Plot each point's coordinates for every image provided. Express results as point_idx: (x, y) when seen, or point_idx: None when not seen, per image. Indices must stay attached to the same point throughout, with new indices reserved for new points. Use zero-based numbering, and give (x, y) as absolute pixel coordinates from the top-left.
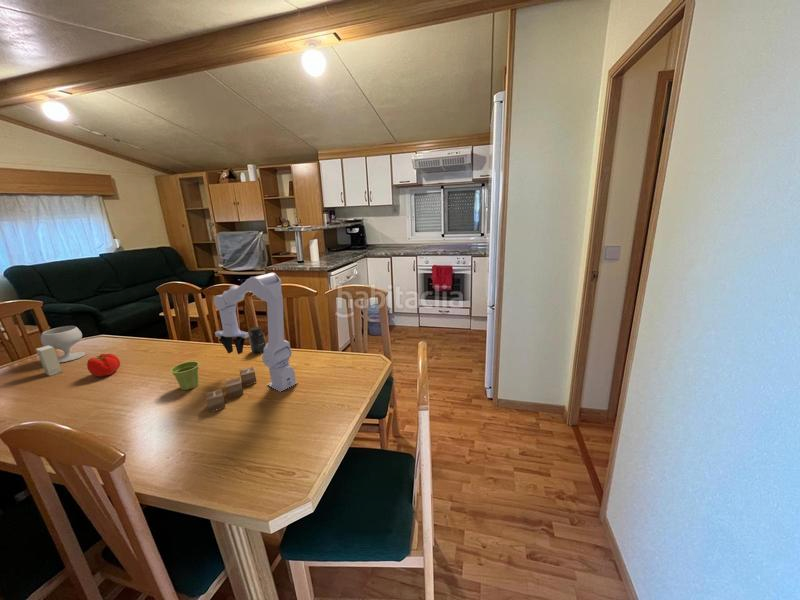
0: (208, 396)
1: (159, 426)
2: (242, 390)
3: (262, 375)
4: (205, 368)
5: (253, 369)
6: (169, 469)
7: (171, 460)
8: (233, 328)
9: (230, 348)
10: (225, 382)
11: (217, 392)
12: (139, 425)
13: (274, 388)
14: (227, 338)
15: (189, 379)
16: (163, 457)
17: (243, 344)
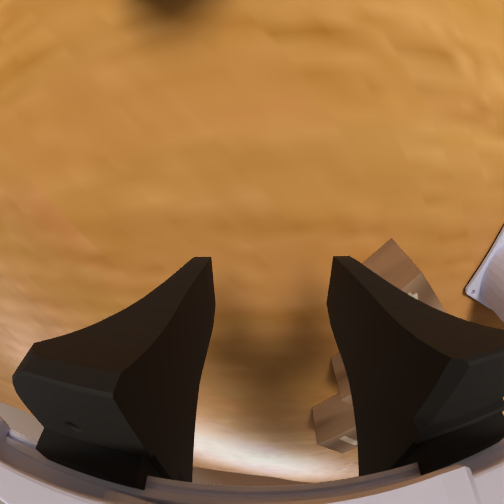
0: (337, 447)
1: (250, 453)
2: None
3: (421, 212)
4: (33, 198)
5: (435, 297)
6: (356, 472)
7: (348, 469)
8: None
9: (203, 307)
10: (349, 404)
11: (355, 435)
12: (201, 452)
13: (488, 307)
14: (170, 451)
15: None
16: (331, 471)
17: (408, 297)
